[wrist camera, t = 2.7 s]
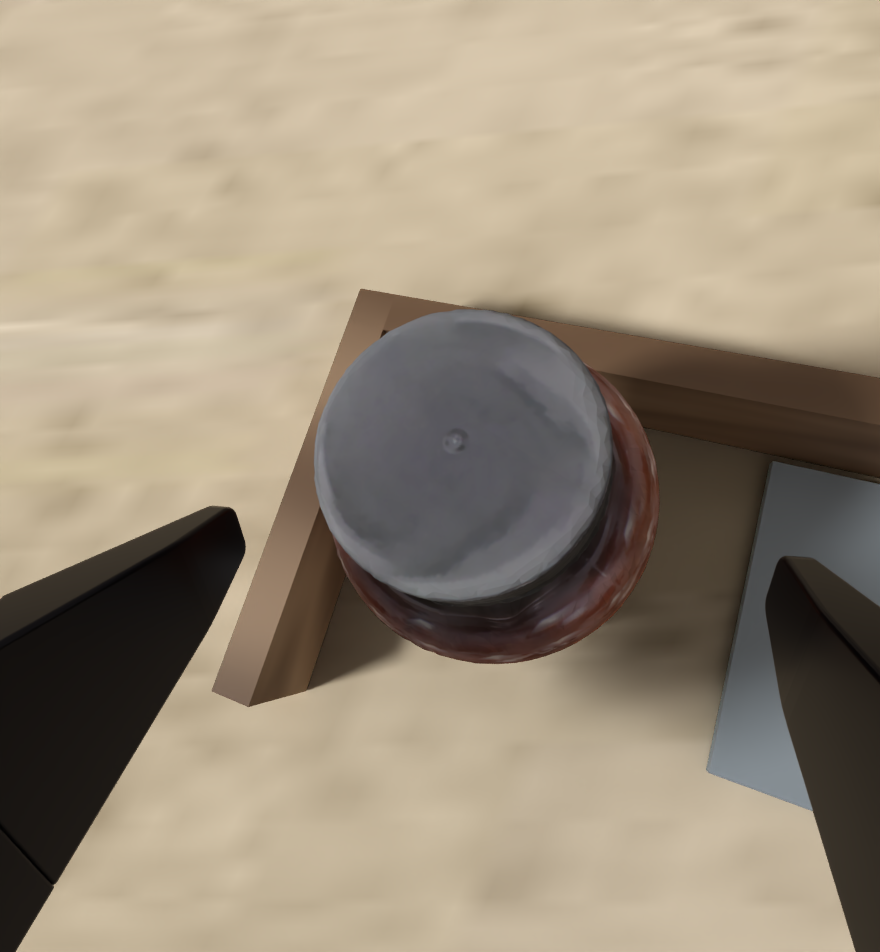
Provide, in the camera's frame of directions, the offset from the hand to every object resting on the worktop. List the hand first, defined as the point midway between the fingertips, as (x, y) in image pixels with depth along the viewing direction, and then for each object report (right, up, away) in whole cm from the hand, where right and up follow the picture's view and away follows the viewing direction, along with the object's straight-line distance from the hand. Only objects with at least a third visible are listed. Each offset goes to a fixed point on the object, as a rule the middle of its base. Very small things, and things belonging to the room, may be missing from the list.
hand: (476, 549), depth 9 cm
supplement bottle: (+2, -1, +9) cm, 9 cm away
